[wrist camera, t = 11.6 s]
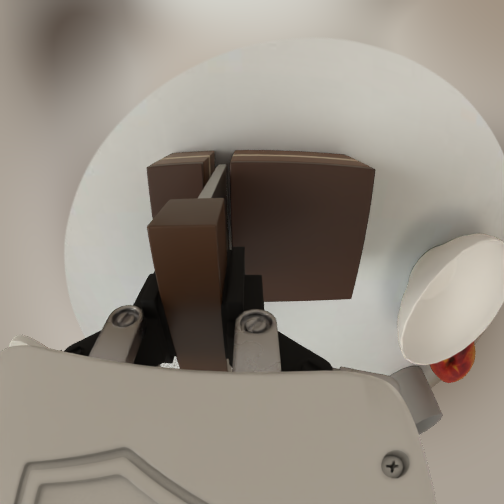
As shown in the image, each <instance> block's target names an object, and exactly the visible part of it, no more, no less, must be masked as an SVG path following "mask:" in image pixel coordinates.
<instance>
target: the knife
mask: <svg viewBox="0 0 504 504" xmlns="http://www.w3.org/2000/svg"><path fill="white" fill-rule="evenodd" d="M147 230H148V236H149V242H150V248H151V253H152V259H153V264H154V269H155V274H156V278H157V283H158V288H159V292H160V296H161V301H162V303H163V306H164V311H165V315H166V319H167V323H168V326H169V330H170V334H171V338H172V341H173V345H174V348H175V352H176V355H177V356H176V357H177V360H178V364H179V367H180V369H186V370H201V371H222V372H231V370H232V367H231V366H230V365H229V359H226V358H225V348H224V338H223V328H222V317H221V304H222V295H223V288H224V280H225V273H226V266H227V253H228V250H229V230H228V199H227V165H226V164H225V165H218V166H217V168H216V169H215V171H214V172H213V174H212V175H211V177H210V179H209V180H208V182H207V184H206V185H205V187H204V189H203V190H202V192H201V193H200V195H199V197H198V198H195V199H170V200H169V201H168V202H167V203H166V205H165V206H164V207H163V208H162V209H161V210H160V212H159V213H158V214H157V215H156V216H155V218H154V219H153V220H152V221H151V222H150V224H149V225H148V226H147Z"/></svg>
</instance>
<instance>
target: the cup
mask: <svg viewBox="0 0 504 504" xmlns="http://www.w3.org/2000/svg"><path fill="white" fill-rule="evenodd" d="M390 377H393V378H394V379H395V380H397V382H398V383H399V385H400V389H401V396H402V398H403V399H404V401H405V403H406V405H407V407H408V409H409V411H410V413H411V415H412V418H413V420H414V422H415V425H416V428H417V430H418V433H419V434H421V433H423V432H425V431H427V430H428V429H429V428H431V427H432V426H434V425H435V424H436V423H437V422H438V421H439V420H441V418H442V416H443V415H442V413H441V410H440V408H439V406H438V403H437V401H436V399H435V397H434V394H433V392H432V390H431V388H430V386H429V384H428V382H427V379H426V377H425V375H424V373H423V371H422V369H421V368H420V367H419V366H411V367H408V368H404V369H401V370H400V371H398V372H396V373H394V374H392V375H391V376H390Z"/></svg>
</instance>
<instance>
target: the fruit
mask: <svg viewBox="0 0 504 504" xmlns="http://www.w3.org/2000/svg"><path fill="white" fill-rule="evenodd" d="M474 360H475V346H474V341H473V342H472V343H471V344H470V345H468V346H467V347H466V348H464V349H463V350H462V351H460V352H458V353H457V354H455V355H453V356H452V357H450V358H448V359H445V360H443V361H440V362H438V363H434V364H430V367H431V369H432V371H433V372H434V373H435V374H436V375H437V376H438V377H439V378H440V379H441V380H442V381H444V382H447V383H451V382H456V381H458V380H460V379H462V378H463V377H464V376H466V374H467V373H468V372H469V371H470V369H471V367H472V365H473V363H474Z"/></svg>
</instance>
